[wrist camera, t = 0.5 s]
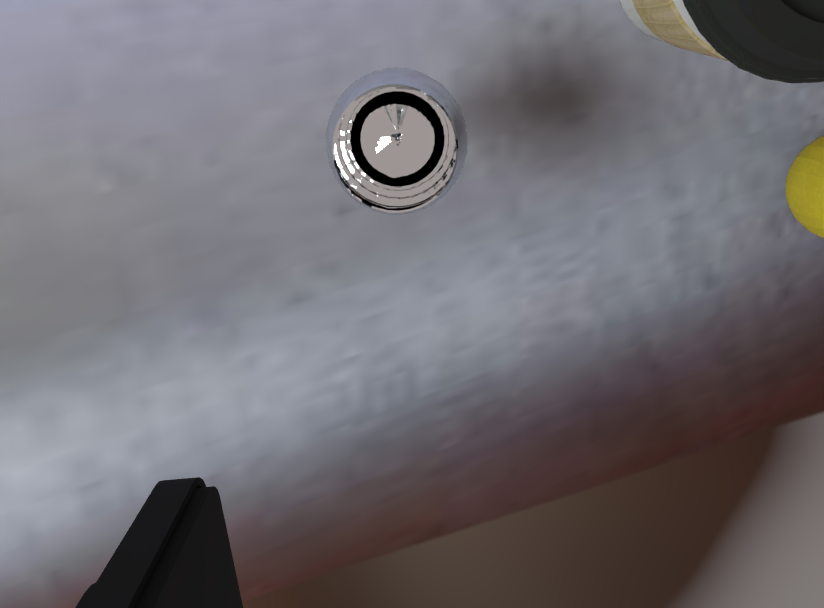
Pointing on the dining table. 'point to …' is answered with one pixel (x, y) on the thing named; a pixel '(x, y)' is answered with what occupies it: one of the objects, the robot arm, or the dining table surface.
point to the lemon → (808, 187)
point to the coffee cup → (742, 33)
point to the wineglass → (396, 141)
